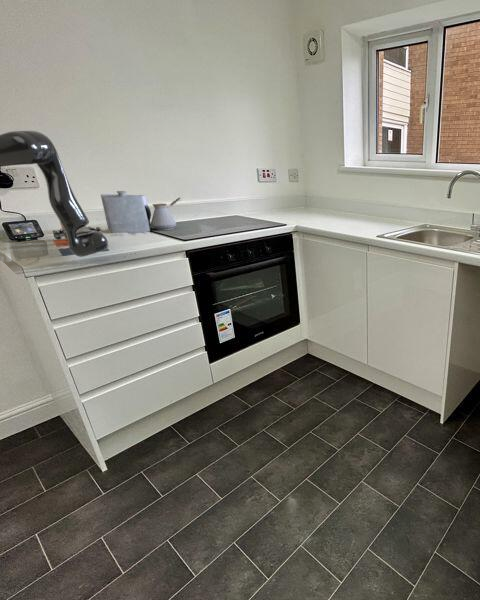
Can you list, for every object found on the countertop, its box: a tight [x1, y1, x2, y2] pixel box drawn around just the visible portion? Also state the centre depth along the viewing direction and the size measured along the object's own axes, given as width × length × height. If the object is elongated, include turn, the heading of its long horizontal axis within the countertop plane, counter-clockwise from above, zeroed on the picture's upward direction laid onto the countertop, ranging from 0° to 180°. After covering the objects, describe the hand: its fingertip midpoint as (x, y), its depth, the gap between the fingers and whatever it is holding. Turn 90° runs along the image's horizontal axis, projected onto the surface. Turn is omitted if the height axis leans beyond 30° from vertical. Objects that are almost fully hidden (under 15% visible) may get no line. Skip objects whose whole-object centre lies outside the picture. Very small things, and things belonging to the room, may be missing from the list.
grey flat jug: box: [100, 193, 152, 230], centre depth 179 cm, size 19×5×18 cm, turn 105°
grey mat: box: [58, 247, 110, 257], centre depth 140 cm, size 14×12×1 cm
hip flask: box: [100, 190, 151, 234], centre depth 171 cm, size 16×4×20 cm, turn 131°
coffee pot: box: [150, 197, 181, 231], centre depth 188 cm, size 21×12×15 cm, turn 172°
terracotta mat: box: [53, 238, 69, 248], centre depth 152 cm, size 14×17×1 cm
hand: (75, 230), depth 143 cm, fingers open, 8 cm apart
